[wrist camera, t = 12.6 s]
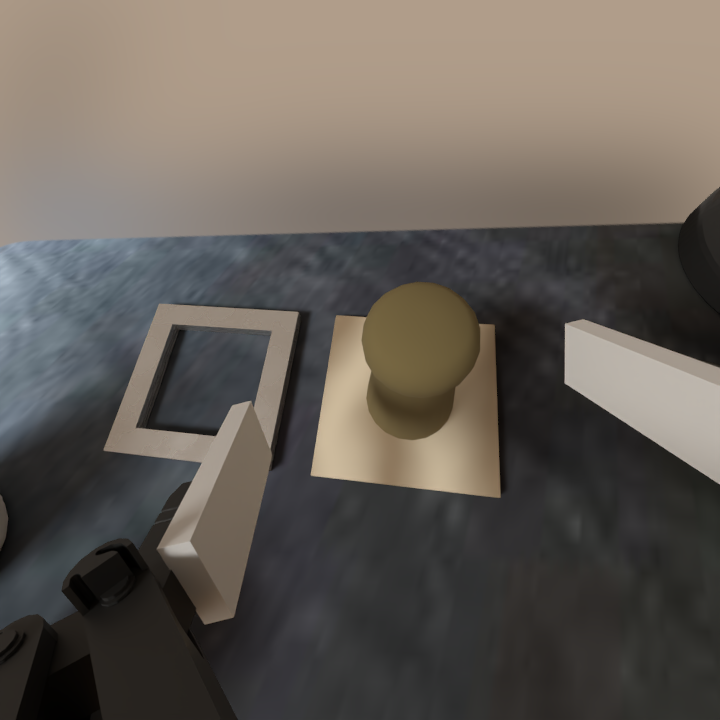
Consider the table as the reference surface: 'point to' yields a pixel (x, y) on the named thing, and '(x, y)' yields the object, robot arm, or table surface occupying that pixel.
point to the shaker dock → (154, 360)
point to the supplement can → (3, 522)
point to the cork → (417, 357)
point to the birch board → (400, 456)
